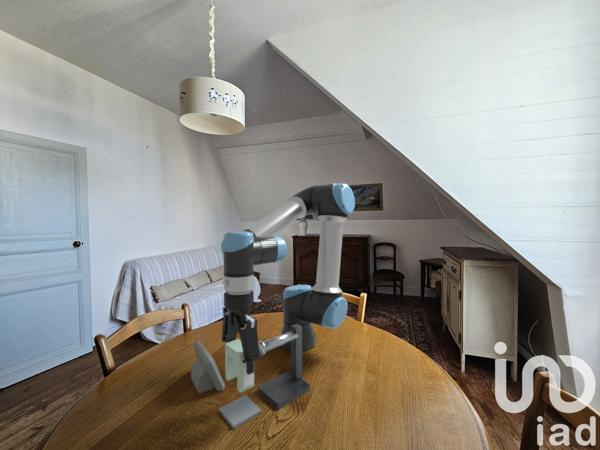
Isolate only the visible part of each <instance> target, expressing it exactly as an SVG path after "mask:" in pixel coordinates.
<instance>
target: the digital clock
mask: <svg viewBox="0 0 600 450" xmlns="http://www.w3.org/2000/svg"><path fill="white" fill-rule="evenodd" d="M192 347H193V349H194V352H195V354H196V356H195V357H196V359H195V361H194V362H193V363H192V364H191V366H190V379H191V381H192V383H193V385H194V387H195V389H196V391H197V392H198V394H202V393H205V392H208V391H210V390H213V389H216V391H217V392H222V391H224V390H225V387H226V385H225V382H224V379H223V377H222V375H221V373H220V371H219V369H218V366H217V364H216V362H215V360H214V358H213V356H212V355H211V354H210V353H209V351H208V350H207V349H206V348H205V346H204V345H203V343H202V342H201V341H200V340H197V341H195V342H193V344H192Z"/></svg>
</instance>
